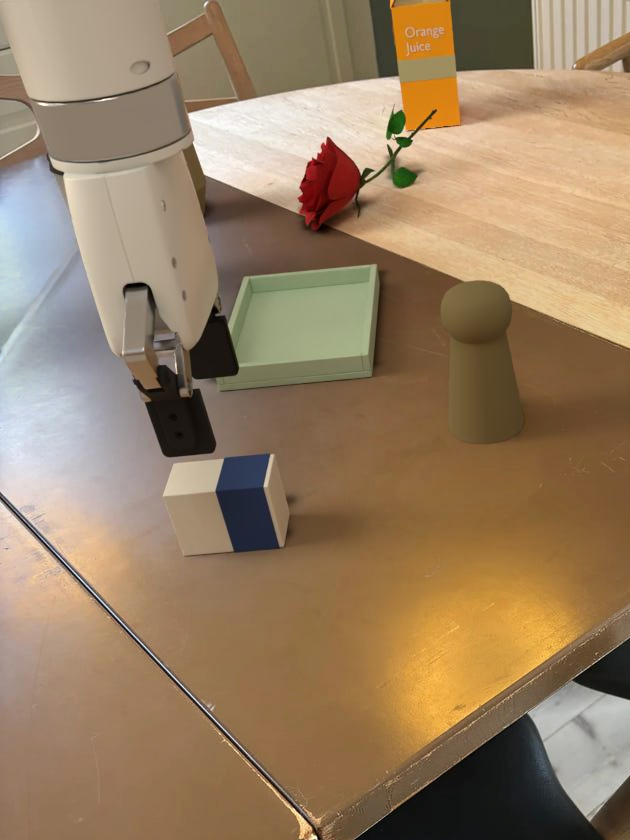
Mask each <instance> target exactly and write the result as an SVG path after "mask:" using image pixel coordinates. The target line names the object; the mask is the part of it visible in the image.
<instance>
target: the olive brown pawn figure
mask: <svg viewBox="0 0 630 840" xmlns="http://www.w3.org/2000/svg"><path fill="white" fill-rule="evenodd" d="M439 311H440V312H439V313H440V319H441V322H442V325H443V328H444V330H445V332H447V334H448V335H449V336H450V341H449V376H448V377H449V378H448V411H447V427H448V428H447V429H448V433H450V434H451V435H452V437H453V438H454V439H456V440H458V441H461V442H463V443H467V444H473V445H489V444H497V443H500V442H504V441H507V440H509V439H511V438H513V437H515V436H516V435H518V433H520V431H522V430H523V428H524V425H525V416H524V411H523V407H522V401H521V396H520V392H519V386H518V382H517V376H516V373H515V368H514V363H513V358H512V353H511V348H510V343H509V339H508V334H507V330H508V329H509V327H510V325H511V323H512V317H513V303H512V300H511V298H510V295H509V292H508V291H507V290H506V289H505V287H503V286H502V285H501V284H499V283H496V282H493V281H491V280H483V279H481V280H479V279H478V280H475V279H473V280H469V281H468V280H467V281H464V282H460V283H458V284H456V285H454V286H452V287H451V288H449V289H448V290H447V291H446V292H445V294H444V296H443V298H442V301H441V302H440V310H439Z"/></svg>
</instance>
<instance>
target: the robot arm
mask: <svg viewBox="0 0 630 840" xmlns="http://www.w3.org/2000/svg"><path fill="white" fill-rule="evenodd" d="M0 22H1V25H2V28H3V31H4V34H5V36H6V39H7V41H8V45H9V48H10V50H11V53H12V57H13V59H14V61H15V64H16V67H17V70H18V73H19V76H20V78H21V81H22V84H23V87H24V90H25V93H26V95H27V97H28V101H29V103H30V107H31V109H32V112H33V115H34V118H35V120H36V123H37V126H38V128H39V129H38V130H39V131H40V134H41V137H42V140H43V141H44V146H45V149H46V151H47V153H48V154H49V157H50V160H51V163H52V165H53V167H54V168H55V169H57V170H59V171H62V172H65V173H64V176H63V178H64V184H65V190H66V195H67V200H68V205H69V210H70V213H69V215H70V214H71V217H70V219H71V218H72V219H71V222H72V227H73V230H74V231H73V232H74V234H75V238H76V242H77V246H78V249H79V253H80V256H81V260H82V264H83V267H84V270H85V273H86V276H87V279H88V284H89V286H90V290H91V294H92V297H93V299H94V303H95V306H96V309H97V312H98V316H99V318H100V321H101V325H102V328H103V331H104V334H105V338H106V341H107V343H108V346H109V348H110V350H111V351H112V353H113V354H114V355H116V356H117V357H118V358H122V359H123V361H124V363H125V365H126V367H127V368H128V370H129V371H130V373H131V376H132V377H133V379H132V383H133V385H134V386H135V387H136V388H137V390H138V393H139V397H140V400H141V401H142V402H143V403H144V405H145V408H146V410H147V411H146V412H147V414H148V416H149V420H150V423H151V425H152V429H153V430H154V433H155V437H156V439H157V442H158V445H159V448H160V450H161V453H162V455H163V456H164V457H165V458H168V459H169V458H179V457H189V456H199V455H200V456H201V455H209V454H213V453H215V451H216V448H217V444H218V443H217V440H216V436H215V434H214V431H213V427H212V424H211V420H210V418H209V414H208V411H207V408H206V403H205V401H204V398H203V394H202V391H201V388H194V385H193V379H194V380H196V381H199V380H208V379H209V380H210V379H216V378H219V377H229V376H236V375H237V374H238V371H239V364H238V360H237V356H236V353H235V349H234V345H233V342H232V338H231V334H230V331H229V327H228V324H229V322H228V320H227V316H226V315H225V314H224V315H222V314H223V312H224V311H223V310H224V308H223V301H222V298H221V296H220V294H219V292H218V290H219V275H218V270H217V265H216V264H217V263H216V259H215V255H214V251H213V248H212V247H213V246H212V243H211V240H210V236H209V235H210V234H209V232H208V228H207V225H206V221H205V217H204V216H203V214H202V211H201V207H200V204H199V201H198V198H197V194H196V191H195V188H194V185H193V182H192V178H191V175H190V172H189V169H188V164H187V162H186V160H185V157H184V154H183V151H182V150H185V149H187V148H188V147H189V146H190V145H191V144H192V143H193V144H194V141H195V135H194V131H193V128H192V124H191V120H190V115H189V113H188V109H187V104H186V101H185V97H184V93H183V89H182V86H181V82H180V78H179V74H178V71H177V66H176V63H175V59H174V55H173V52H172V48H171V43H170V40H169V36H168V31H167V28H166V25H165V20H164V17H163V13H162V9H161V6H160V2H159V0H0ZM69 210H68V211H69ZM169 334H174V338H168V339H160V340H159V339H158V340H155V336H159V335H160V336H161V335H169ZM168 356H174V365H175V372H174V371H173V369H171V368H170V367H169V366H168V365H166V364H160V363H159V359H160V358H159V357H168Z"/></svg>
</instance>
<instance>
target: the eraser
mask: <svg viewBox="0 0 630 840" xmlns="http://www.w3.org/2000/svg"><path fill="white" fill-rule="evenodd" d="M170 470H171V471H170V473H169V476H168V479H167V483H166V485H165V488H164V490H163V494H162V498H163V501H164V504H165V507H166V510H167V513H168V515H169V518H170V521H171V523H172V527H173V529H174V532H175V535H176V538H177V541H178V543H179V546H180V550H181V552H182V555H183V557H189V556H200V555H210V554H211V555H212V554H221V553H244V552H245V553H246V552H256V551H265V550H277V549H280V548H284V547H285V543H286V537H287V532H288V527H289V521H290V515H291V512H290V509H289V504H288V502H287V496H286V492H285V488H284V485H283V481H282V477H281V473H280V469H279V466H278V461H277V457H276V454H275V453H270V452H269V453H259V454H248V455H247V454H246V455H239V456H238V455H237V456H227V457H224V458H217V459H216V458H215V459H205V460H196V461H194V460H193V461H186V462H185V461H183V462H175V463H173V465H172V467H171V469H170Z"/></svg>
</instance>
